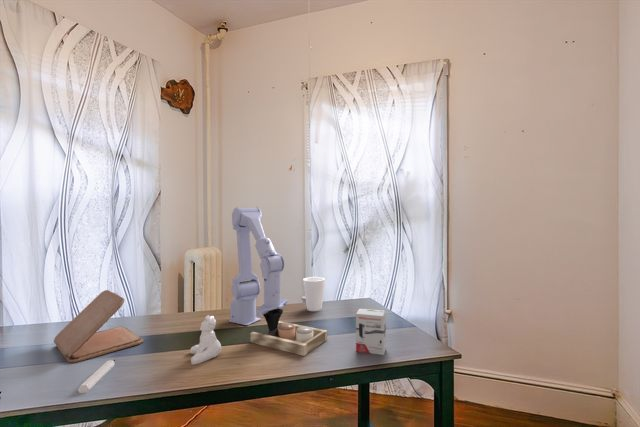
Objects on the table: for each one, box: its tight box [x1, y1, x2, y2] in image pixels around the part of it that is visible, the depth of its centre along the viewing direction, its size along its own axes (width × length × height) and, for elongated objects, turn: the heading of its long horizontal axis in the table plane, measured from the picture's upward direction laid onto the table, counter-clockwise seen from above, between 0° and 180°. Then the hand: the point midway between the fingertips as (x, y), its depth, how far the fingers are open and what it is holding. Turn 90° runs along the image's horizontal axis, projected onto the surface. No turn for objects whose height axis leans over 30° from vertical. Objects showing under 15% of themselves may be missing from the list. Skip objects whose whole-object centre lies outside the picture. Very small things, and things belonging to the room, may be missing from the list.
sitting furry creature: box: [189, 314, 222, 366], centre depth 98 cm, size 10×9×12 cm
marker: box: [77, 359, 116, 394], centre depth 86 cm, size 3×2×16 cm
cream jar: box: [295, 325, 313, 343], centre depth 105 cm, size 6×6×5 cm
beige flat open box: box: [250, 320, 329, 356], centre depth 108 cm, size 21×14×3 cm
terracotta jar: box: [278, 322, 296, 341], centre depth 109 cm, size 6×6×5 cm
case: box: [53, 289, 144, 364], centre depth 107 cm, size 20×21×16 cm
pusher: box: [266, 328, 278, 337], centre depth 111 cm, size 4×10×4 cm, turn 150°
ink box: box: [355, 308, 387, 356], centre depth 100 cm, size 8×5×12 cm, turn 72°
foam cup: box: [302, 276, 326, 312], centre depth 143 cm, size 10×9×13 cm
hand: (272, 331), depth 112 cm, fingers closed
